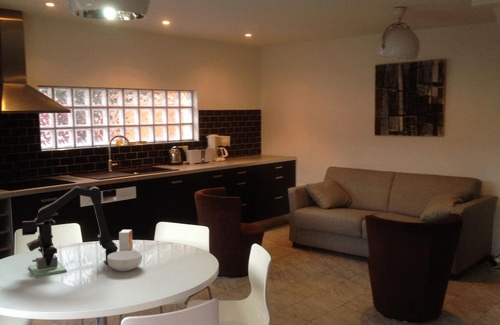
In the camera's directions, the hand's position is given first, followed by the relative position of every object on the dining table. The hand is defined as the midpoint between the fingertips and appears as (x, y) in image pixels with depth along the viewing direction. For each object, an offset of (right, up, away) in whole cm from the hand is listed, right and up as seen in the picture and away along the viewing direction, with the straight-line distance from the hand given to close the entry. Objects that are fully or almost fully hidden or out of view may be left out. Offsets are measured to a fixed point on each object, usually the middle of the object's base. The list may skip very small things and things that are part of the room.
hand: (47, 264), depth 242 cm
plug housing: (0, -1, 0) cm, 1 cm away
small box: (+30, +1, +37) cm, 47 cm away
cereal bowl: (+38, -2, +1) cm, 38 cm away
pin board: (0, -3, 0) cm, 3 cm away
